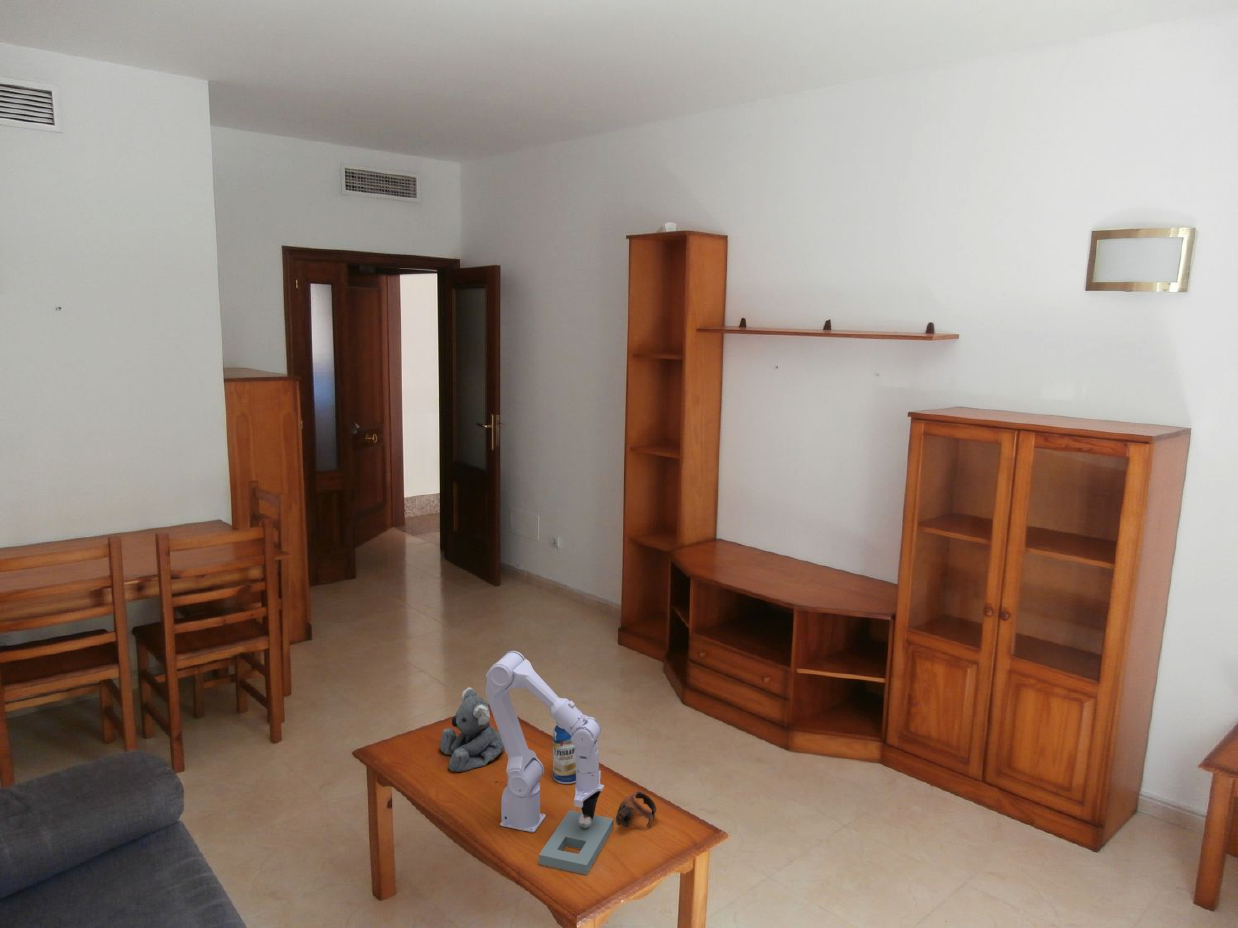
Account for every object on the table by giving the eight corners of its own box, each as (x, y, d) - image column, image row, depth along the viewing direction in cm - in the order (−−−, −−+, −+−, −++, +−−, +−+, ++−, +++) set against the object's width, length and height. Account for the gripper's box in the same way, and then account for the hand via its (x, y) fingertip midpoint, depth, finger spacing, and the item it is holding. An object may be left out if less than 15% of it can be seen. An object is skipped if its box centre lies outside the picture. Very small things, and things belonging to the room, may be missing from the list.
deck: (538, 864, 202) (538, 854, 201) (569, 818, 220) (569, 809, 220) (586, 874, 198) (586, 865, 198) (613, 827, 217) (613, 818, 216)
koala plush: (437, 748, 256) (436, 687, 253) (495, 737, 263) (495, 677, 260) (451, 776, 240) (450, 711, 237) (512, 763, 248) (512, 700, 245)
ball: (578, 823, 214) (575, 828, 211) (580, 809, 214) (578, 814, 211) (591, 826, 214) (589, 832, 210) (594, 812, 214) (591, 818, 210)
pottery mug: (623, 808, 227) (640, 784, 225) (649, 835, 222) (666, 811, 221) (600, 818, 216) (617, 794, 215) (626, 847, 212) (644, 821, 210)
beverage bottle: (584, 770, 244) (585, 704, 241) (579, 786, 236) (580, 718, 233) (555, 768, 245) (555, 702, 242) (549, 784, 237) (550, 716, 234)
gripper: (593, 785, 203) (594, 837, 205) (611, 756, 217) (612, 805, 219) (565, 781, 205) (566, 832, 208) (585, 752, 219) (586, 801, 221)
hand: (588, 818), depth 213 cm, fingers closed, pressing on ball
